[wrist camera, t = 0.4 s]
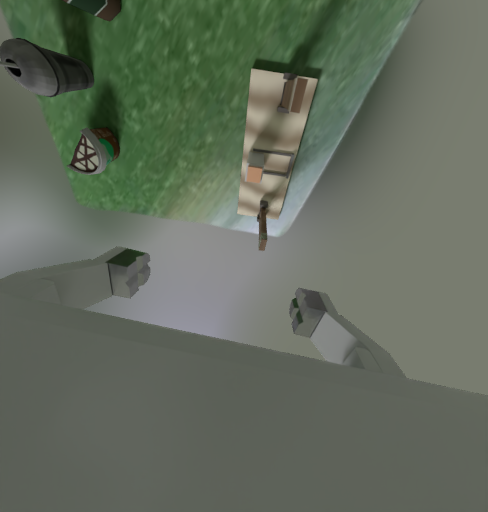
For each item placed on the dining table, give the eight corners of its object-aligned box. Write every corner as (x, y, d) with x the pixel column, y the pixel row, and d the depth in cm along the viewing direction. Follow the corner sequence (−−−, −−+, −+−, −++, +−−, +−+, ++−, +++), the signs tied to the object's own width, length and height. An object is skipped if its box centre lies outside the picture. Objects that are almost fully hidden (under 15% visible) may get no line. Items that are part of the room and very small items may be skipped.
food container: (114, 173, 55) (91, 186, 48) (93, 156, 52) (65, 167, 45) (131, 143, 49) (109, 153, 42) (109, 122, 46) (80, 128, 39)
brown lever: (279, 104, 39) (288, 112, 26) (284, 81, 37) (296, 77, 24) (287, 106, 40) (300, 113, 27) (292, 83, 37) (309, 79, 24)
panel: (251, 69, 38) (250, 67, 34) (316, 79, 38) (321, 78, 35) (237, 211, 61) (236, 218, 58) (277, 217, 61) (278, 224, 58)
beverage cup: (56, 58, 39) (-68, 39, 24) (79, 42, 37) (-40, 11, 22) (85, 101, 43) (-4, 106, 29) (107, 88, 41) (24, 87, 27)
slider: (247, 167, 49) (244, 182, 41) (249, 151, 47) (246, 164, 39) (261, 169, 49) (261, 185, 41) (264, 154, 47) (264, 167, 39)
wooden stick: (258, 214, 59) (258, 250, 46) (260, 204, 56) (260, 238, 43) (264, 215, 59) (264, 251, 46) (266, 205, 56) (267, 239, 43)
